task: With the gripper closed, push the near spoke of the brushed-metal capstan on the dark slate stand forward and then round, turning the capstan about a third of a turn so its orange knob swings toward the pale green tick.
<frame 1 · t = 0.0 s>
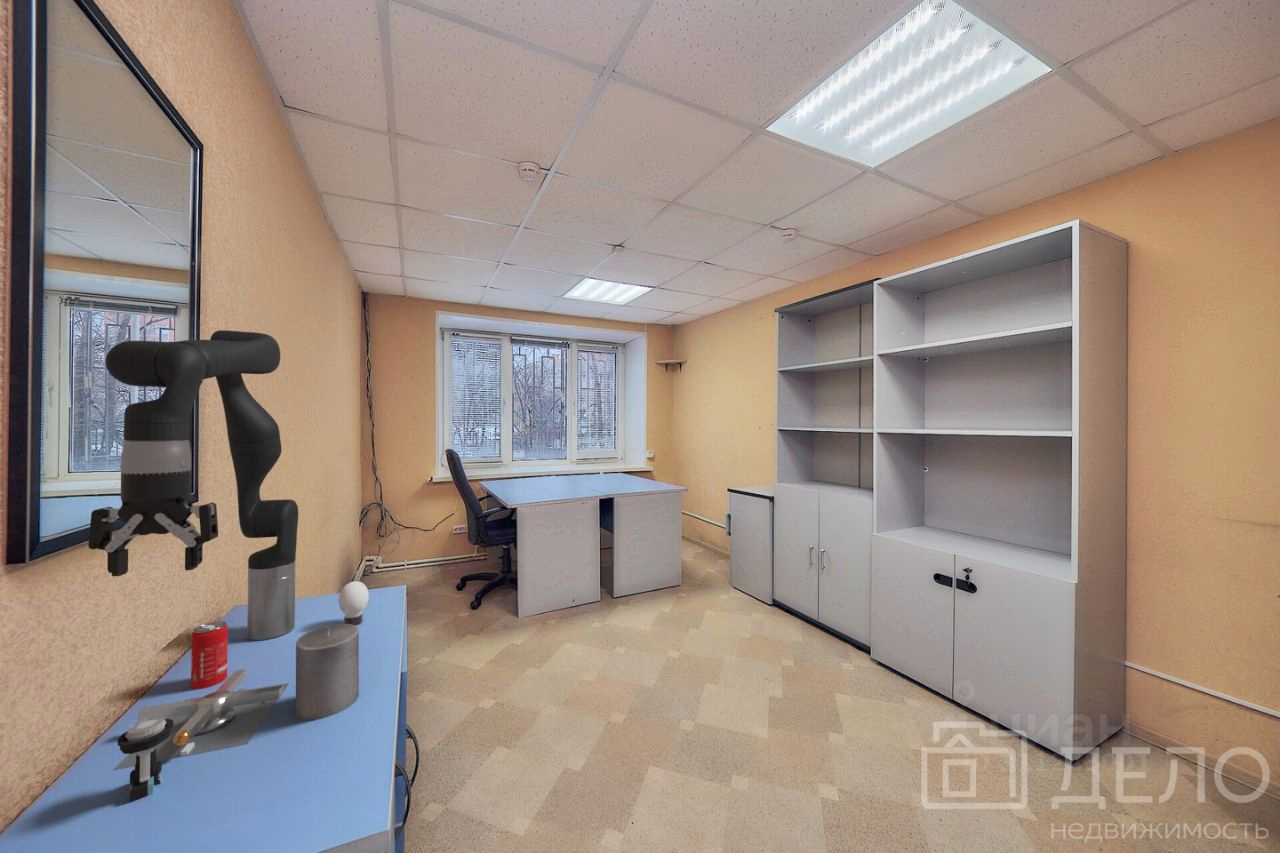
hand: (156, 571, 70), 29 cm above the table, fingers open, 8 cm apart
pillar candle: (327, 709, 83), on the table
beverage can: (209, 687, 89), on the table
capstan: (213, 709, 77), point 3 cm above the table, hinge at 0.0°
light bulb: (353, 624, 118), on the table
stand: (213, 725, 77), on the table
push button: (146, 792, 64), on the table
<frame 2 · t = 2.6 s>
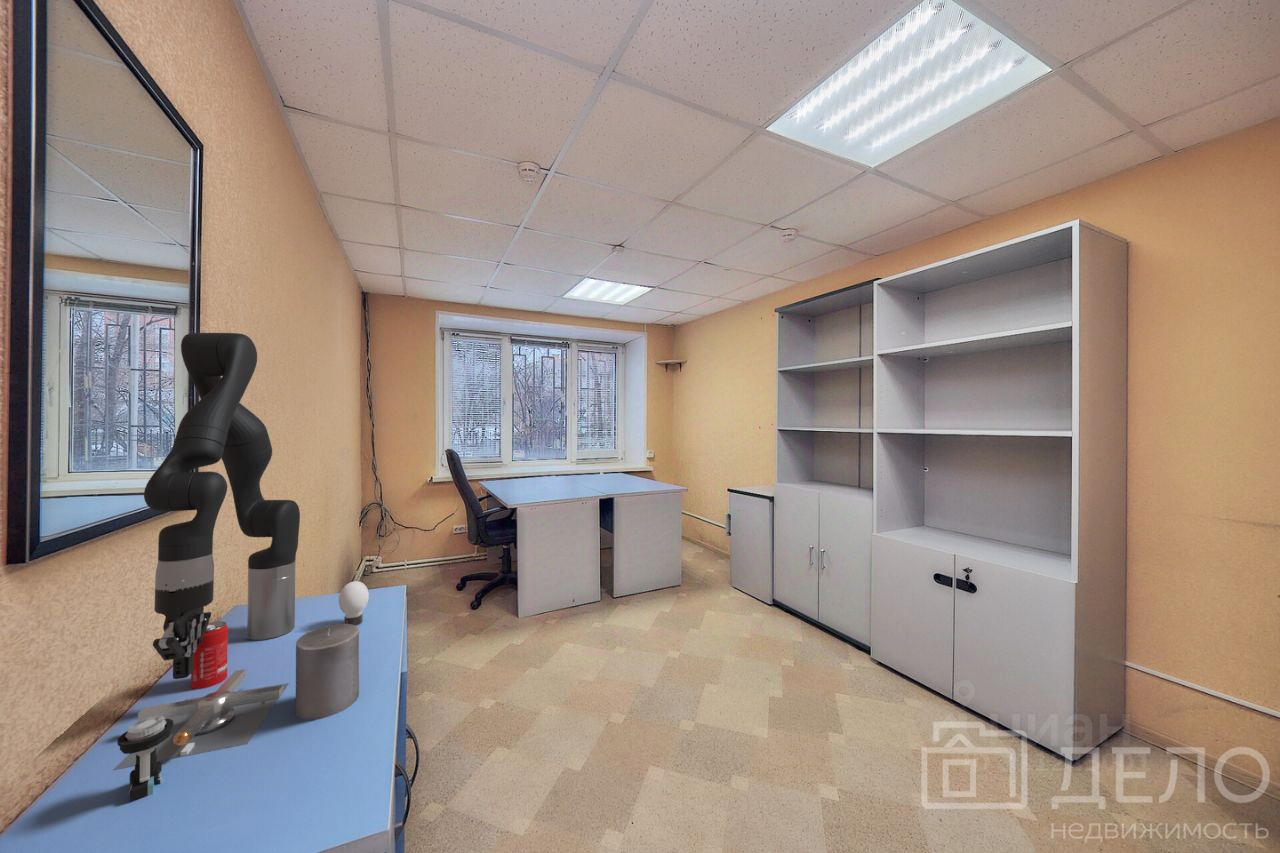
hand: (182, 676, 81), 6 cm above the table, fingers closed
nothing on the table moved.
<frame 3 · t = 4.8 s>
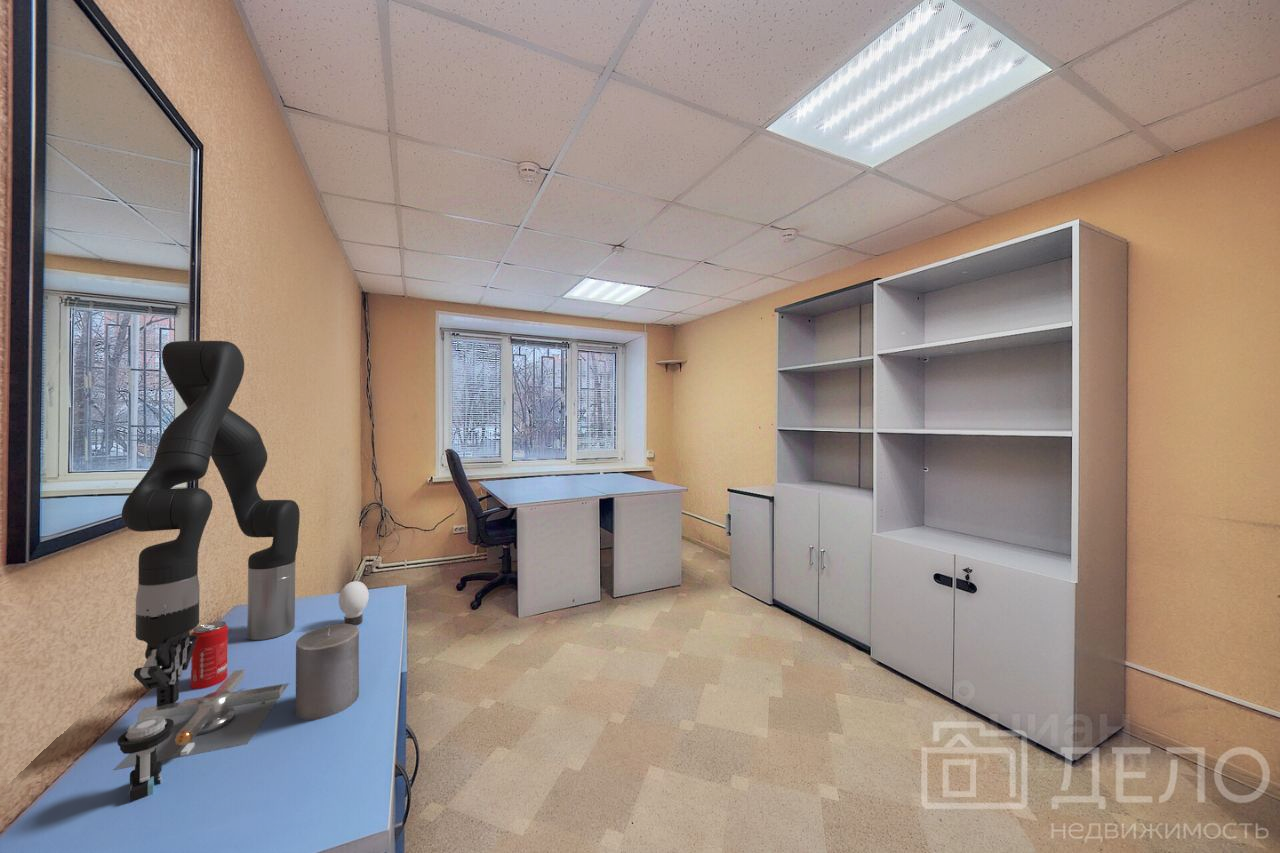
hand: (167, 704, 77), 4 cm above the table, fingers closed
capstan: (213, 709, 77), point 3 cm above the table, hinge at 1.3°, touching gripper
everything else where it was.
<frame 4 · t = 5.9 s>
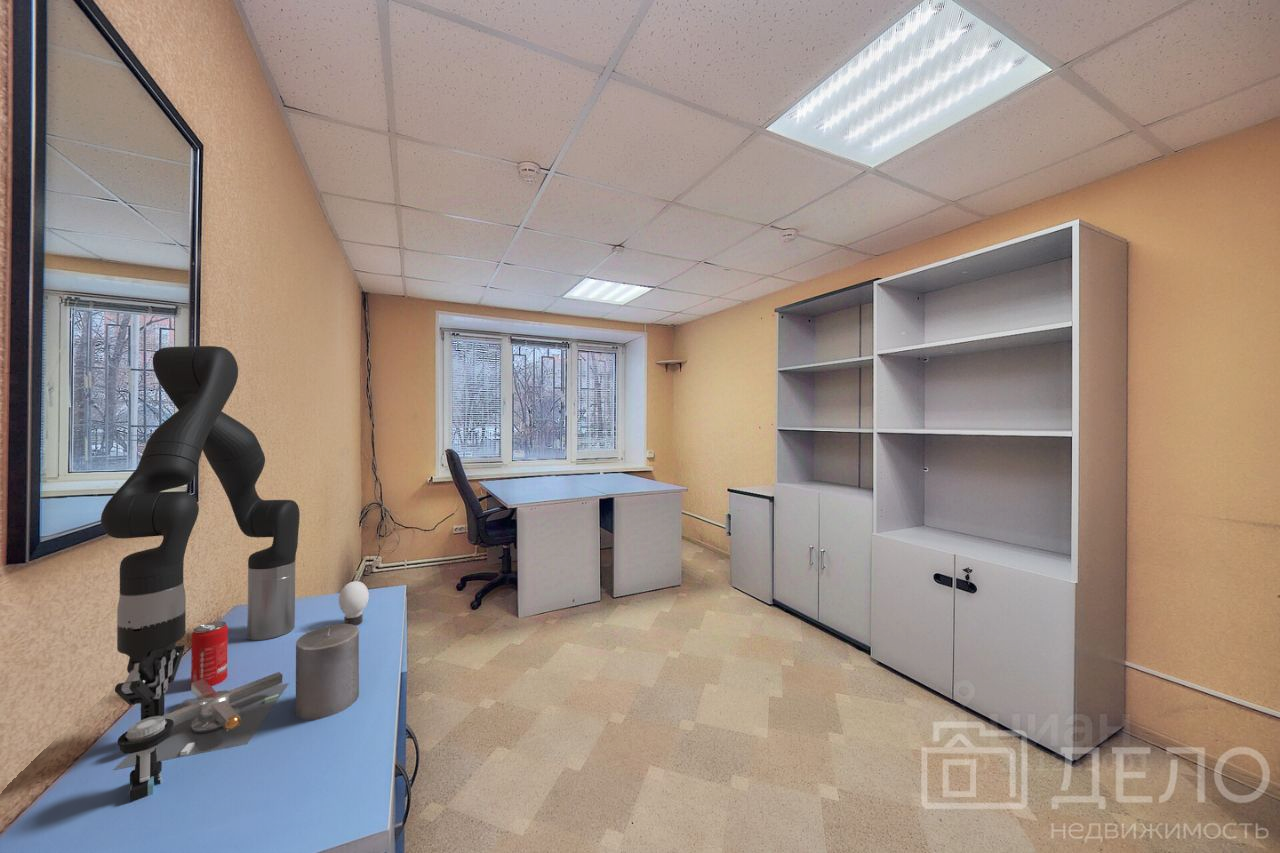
hand: (152, 719, 73), 4 cm above the table, fingers closed
capstan: (214, 709, 77), point 3 cm above the table, hinge at 36.6°, touching gripper
everything else where it was.
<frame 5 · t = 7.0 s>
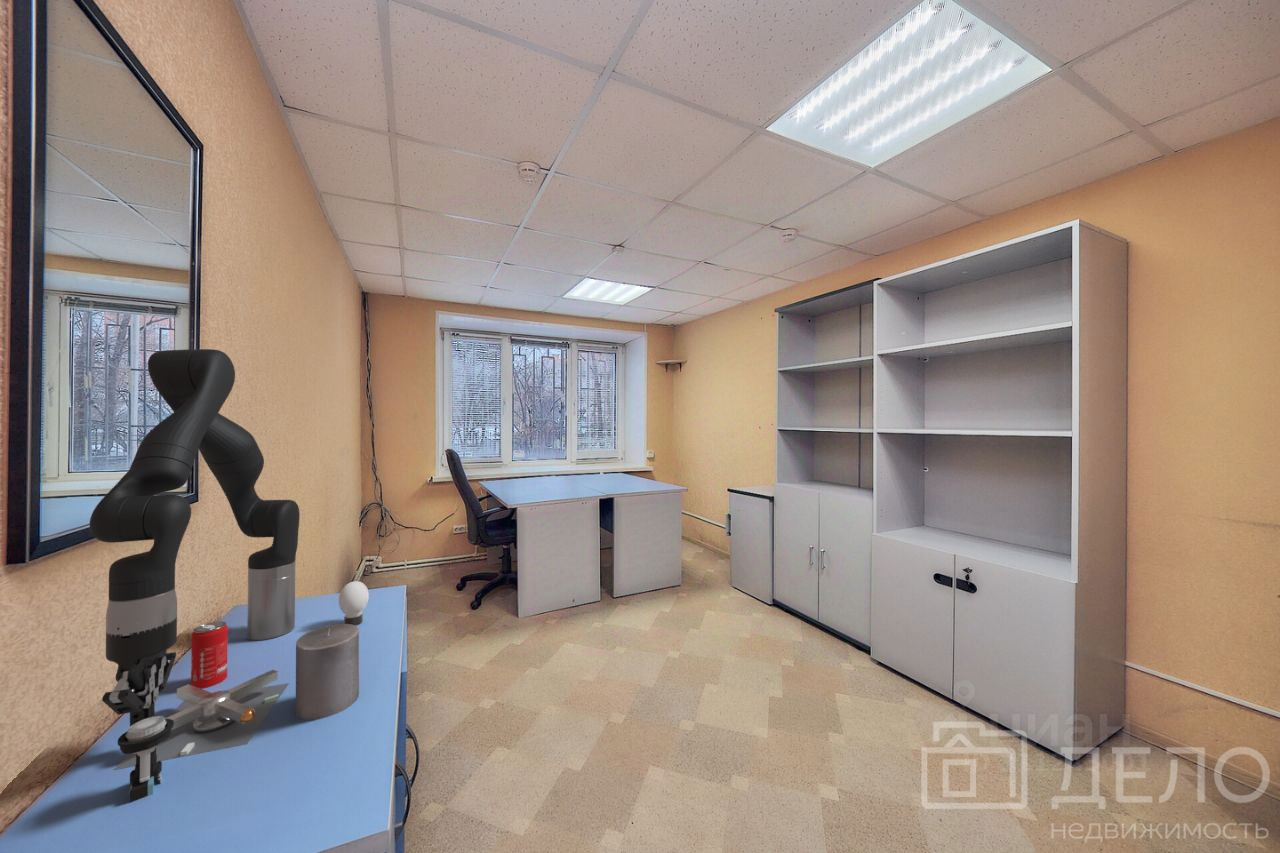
hand: (142, 729, 71), 4 cm above the table, fingers closed
capstan: (215, 709, 77), point 3 cm above the table, hinge at 48.7°, touching gripper
everything else where it was.
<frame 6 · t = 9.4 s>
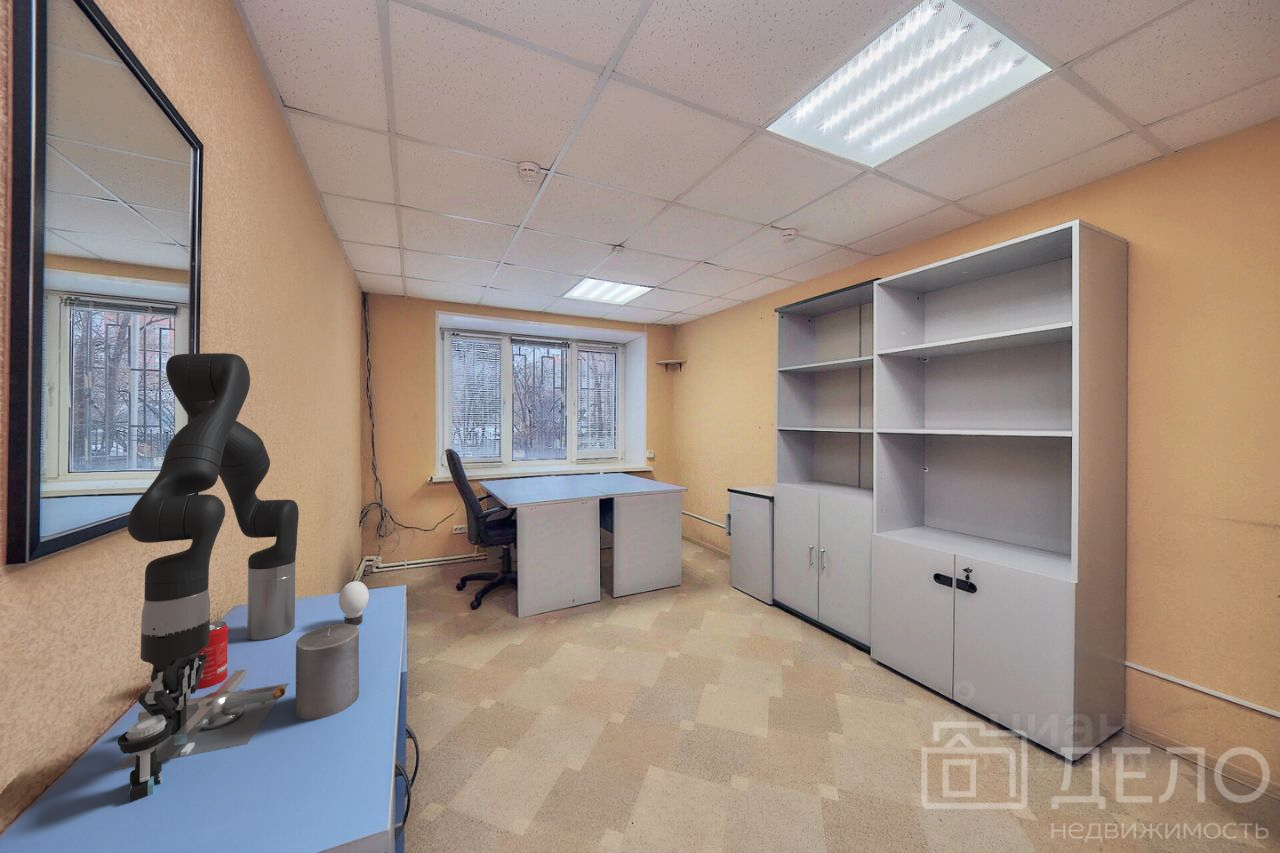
hand: (174, 731, 70), 4 cm above the table, fingers closed
capstan: (216, 708, 78), point 3 cm above the table, hinge at 89.7°, touching gripper
everything else where it was.
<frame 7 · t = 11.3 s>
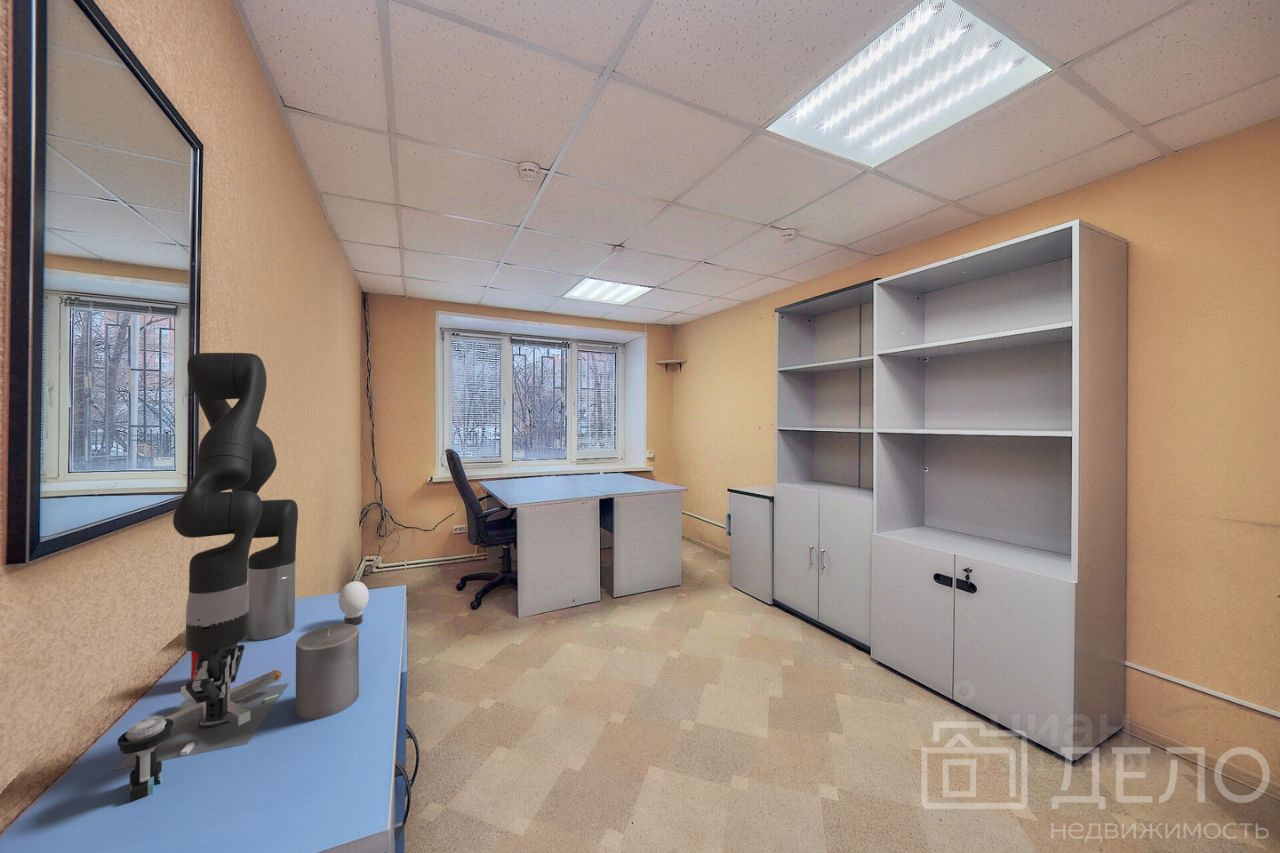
hand: (216, 718, 73), 4 cm above the table, fingers closed
capstan: (216, 707, 78), point 3 cm above the table, hinge at 135.2°, touching gripper
everything else where it was.
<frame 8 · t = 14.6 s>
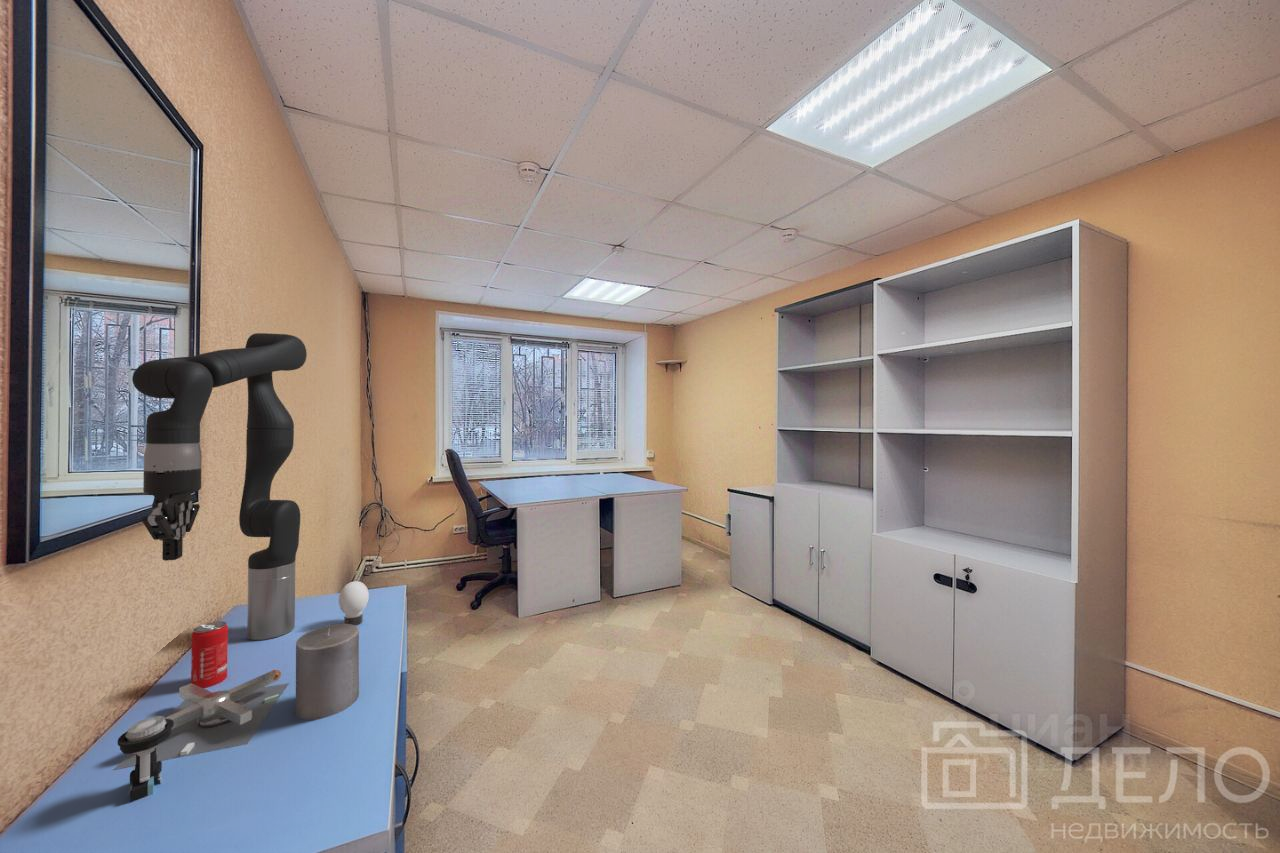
hand: (172, 559, 84), 27 cm above the table, fingers closed
capstan: (216, 707, 78), point 3 cm above the table, hinge at 136.5°
everything else where it was.
at the end: capstan at +136° (first picture: +0°); capstan touching nothing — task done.
